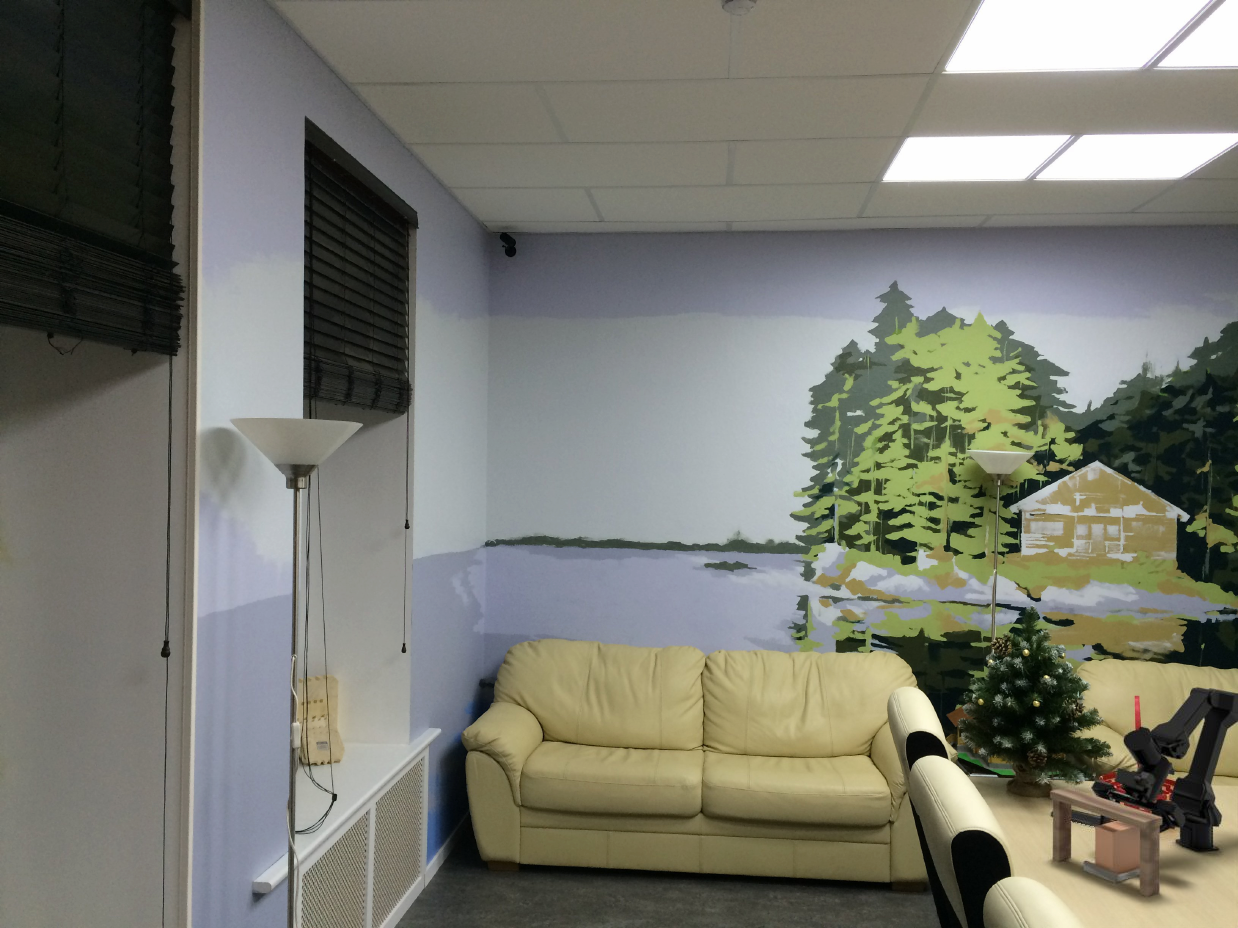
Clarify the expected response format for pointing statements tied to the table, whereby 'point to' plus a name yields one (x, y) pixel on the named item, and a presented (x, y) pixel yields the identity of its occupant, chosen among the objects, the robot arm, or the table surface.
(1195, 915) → the table surface
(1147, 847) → the walnut bridge
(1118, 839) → the terracotta panel
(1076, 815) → the phone
